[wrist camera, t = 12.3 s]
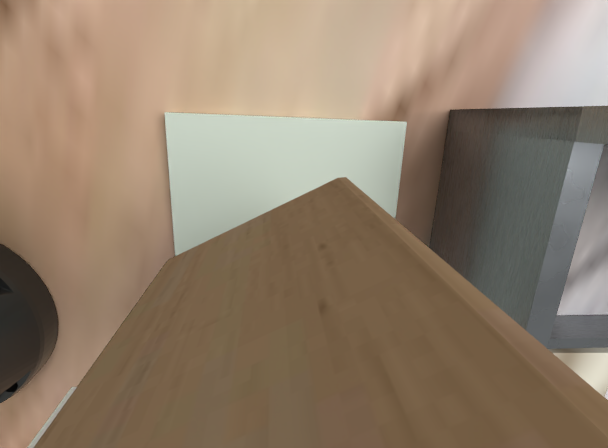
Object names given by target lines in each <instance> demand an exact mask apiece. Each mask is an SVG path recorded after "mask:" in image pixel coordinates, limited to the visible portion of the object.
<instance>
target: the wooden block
mask: <svg viewBox="0 0 608 448" xmlns="http://www.w3.org/2000/svg"><path fill="white" fill-rule="evenodd" d="M34 448H608V400H607V399H606V398H605V397H603V396H602V395H601V394H600V393H599V392H598V391H596V390H595V389H594V388H593V387H592V386H590V385H589V384H588V383H587V382H586V381H585V380H583V379H582V378H581V377H580V376H579V375H578V374H576V373H575V372H574V371H573V370H572V369H571V368H569V367H568V366H567V365H566V364H565V363H563V362H562V361H561V360H560V359H559V358H558V357H556V356H555V355H554V354H553V353H552V352H551V351H549V350H548V349H547V348H546V347H545V346H544V345H542V344H541V343H540V342H539V341H538V340H537V339H535V338H534V337H533V336H532V335H531V334H529V333H528V332H527V331H526V330H525V329H524V328H522V327H521V326H520V325H519V324H518V323H517V322H515V321H514V320H513V319H512V318H511V317H510V316H508V315H507V314H506V313H505V312H504V311H502V310H501V309H500V308H499V307H498V306H497V305H495V304H494V303H493V302H492V301H491V300H490V299H488V298H487V297H486V296H485V295H484V294H483V293H481V292H480V291H479V290H478V289H477V288H475V287H474V286H473V285H472V284H471V283H470V282H468V281H467V280H466V279H465V278H464V277H463V276H461V275H460V274H459V273H458V272H457V271H456V270H454V269H453V268H452V267H451V266H450V265H449V264H447V263H446V262H445V261H444V260H443V259H441V258H440V257H439V256H438V255H437V254H436V253H434V252H433V251H432V250H431V249H430V248H429V247H427V246H426V245H425V244H424V243H423V242H422V241H420V240H419V239H418V238H417V237H416V236H414V235H413V234H412V233H411V232H410V231H409V230H407V229H406V228H405V227H404V226H403V225H402V224H400V223H399V222H398V221H397V220H396V219H395V218H393V217H392V216H391V215H390V214H389V213H387V212H386V211H385V210H384V209H383V208H382V207H380V206H379V205H378V204H377V203H376V202H375V201H373V200H372V199H371V198H370V197H369V196H368V195H366V194H365V193H364V192H363V191H362V190H361V189H359V188H358V187H357V186H356V185H355V184H353V183H352V182H351V181H350V180H349V179H348V178H346V177H341V178H336V179H334V180H332V181H330V182H328V183H326V184H324V185H322V186H320V187H318V188H316V189H314V190H311V191H309V192H307V193H305V194H303V195H301V196H299V197H297V198H295V199H293V200H291V201H289V202H287V203H285V204H282V205H280V206H278V207H276V208H274V209H272V210H270V211H268V212H266V213H264V214H262V215H260V216H258V217H256V218H253V219H251V220H249V221H247V222H245V223H243V224H241V225H239V226H237V227H235V228H233V229H231V230H229V231H227V232H224V233H222V234H220V235H218V236H216V237H214V238H212V239H210V240H208V241H206V242H204V243H202V244H200V245H198V246H196V247H193V248H191V249H189V250H187V251H185V252H183V253H181V254H179V255H177V256H175V257H173V258H171V259H169V260H168V261H167V262H166V263H165V265H164V266H163V267H162V269H161V270H160V272H159V273H158V274H157V276H156V277H155V279H154V280H153V281H152V283H151V284H150V286H149V287H148V288H147V290H146V291H145V292H144V294H143V295H142V297H141V298H140V299H139V301H138V302H137V304H136V305H135V306H134V308H133V309H132V311H131V312H130V313H129V315H128V316H127V318H126V319H125V320H124V322H123V323H122V325H121V326H120V327H119V329H118V330H117V332H116V333H115V334H114V336H113V337H112V339H111V340H110V341H109V343H108V344H107V346H106V347H105V348H104V350H103V351H102V353H101V354H100V355H99V357H98V358H97V360H96V361H95V362H94V364H93V365H92V367H91V368H90V369H89V371H88V372H87V374H86V375H85V376H84V378H83V379H82V381H81V382H80V383H79V385H78V386H77V388H76V389H75V390H74V392H73V393H72V395H71V396H70V397H69V399H68V400H67V402H66V403H65V404H64V406H63V407H62V409H61V410H60V411H59V413H58V414H57V416H56V417H55V418H54V420H53V421H52V422H51V424H50V425H49V427H48V428H47V429H46V431H45V432H44V434H43V435H42V436H41V438H40V439H39V441H38V442H37V443H36V445H35V446H34Z"/></svg>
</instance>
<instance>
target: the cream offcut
mask: <svg viewBox="0 0 608 448" xmlns="http://www.w3.org/2000/svg"><path fill="white" fill-rule="evenodd" d="M548 350H549V351H551V352H552V353H553V354H554V355H555V356H556V357H558V358H559V359H560V360H561V361H562V362H563V363H565V364H566V365H567V366H568V367H569V368H571V369H572V370H573V371H574V372H575V373H576V374H578V375H579V376H580V377H581V378H582V379H583V380H585V381H586V382H587V383H588V384H589V385H590V386H592V387H593V388H594V389H595V390H596V391H598V392H599V393H600V394H601V395H602V396H603V397H605V394H606V391H607V389H608V347H605V348H565V349H548Z"/></svg>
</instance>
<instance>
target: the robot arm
mask: <svg viewBox="0 0 608 448" xmlns="http://www.w3.org/2000/svg"><path fill="white" fill-rule="evenodd" d="M57 333H58V320H57V313H56V309H55V306H54V303H53V300H52V298H51V295H50V293H49V291H48V289H47V288H46V286H45V285H44V283H43V282H42V280H41V279H40V277H39V276H38V275H37V274H36V272H35V271H34V270H33V269H32V268H31V267H30V266H29V265H28V264H27V263H26V262H25V261H24V260H23V259H21V258H20V257H19V256H18V255H16V254H15V253H14V252H12V251H11V250H9V249H8V248H6V247H5V246H3V245H1V244H0V403H2V402H3V401H5V400H7V399H8V398H10V397H11V396H13V395H14V394H16V393H17V392H18V391H19V390H20V389H22V388H23V387H24V386H25V385H26V384H27V383H28V382H29V381H30V380H31V379H32V378H33V377H34V375H35V374H36V373H37V372H38V371H39V370H40V369H41V368H42V367H43V365H44V364H45V363H46V362H47V360H48V359H49V357H50V355H51V354H52V351H53V349H54V346H55V343H56V339H57ZM76 388H77V387H71V389H70V390H69V392H68V393H67V394H66V396H65V397H64V398H63V400H62V401H61V402H60V404H59V405H58V406H57V408H56V409H55V411H54V412H53V413H52V415H51V416H50V417H49V419H48V420H47V421H46V423H45V424H44V426H43V427H42V428H41V430H40V431H39V432H38V434H37V435H36V436H35V438H34V439H33V440H32V442H31V443H30V445H29V446H28V447H27V448H34V446H35V445H36V443H37V442H38V441H39V439H40V438H41V436H42V435H43V434H44V432H45V431H46V429H47V428H48V427H49V425H50V424H51V422H52V421H53V420H54V418H55V417H56V416H57V414H58V413H59V411H60V410H61V409H62V407H63V406H64V404H65V403H66V402H67V400H68V399H69V397H70V396H71V395H72V393H73V392H74V390H75V389H76Z"/></svg>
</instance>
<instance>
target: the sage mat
mask: <svg viewBox="0 0 608 448" xmlns="http://www.w3.org/2000/svg"><path fill="white" fill-rule="evenodd" d="M406 125H407V122H399V121H374V120H348V119H323V118H297V117H272V116H247V115H221V114H196V113H170V112H165V126H166V139H167V153H168V166H169V180H170V193H171V207H172V220H173V234H174V247H175V256H177V255H179V254H181V253H183V252H185V251H187V250H189V249H191V248H193V247H196V246H198V245H200V244H202V243H204V242H206V241H208V240H210V239H212V238H214V237H216V236H218V235H220V234H222V233H224V232H227V231H229V230H231V229H233V228H235V227H237V226H239V225H241V224H243V223H245V222H247V221H249V220H251V219H253V218H256V217H258V216H260V215H262V214H264V213H266V212H268V211H270V210H272V209H274V208H276V207H278V206H280V205H282V204H285V203H287V202H289V201H291V200H293V199H295V198H297V197H299V196H301V195H303V194H305V193H307V192H309V191H311V190H314V189H316V188H318V187H320V186H322V185H324V184H326V183H328V182H330V181H332V180H334V179H336V178H341V177H346V178H348V179H349V180H350V181H351V182H352V183H353V184H355V185H356V186H357V187H358V188H359V189H361V190H362V191H363V192H364V193H365V194H366V195H368V196H369V197H370V198H371V199H372V200H373V201H375V202H376V203H377V204H378V205H379V206H380V207H382V208H383V209H384V210H385V211H386V212H387V213H389V214H390V215H391V216H392V217H393V218H395V217H396V209H397V201H398V192H399V184H400V175H401V167H402V158H403V150H404V142H405V133H406Z"/></svg>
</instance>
